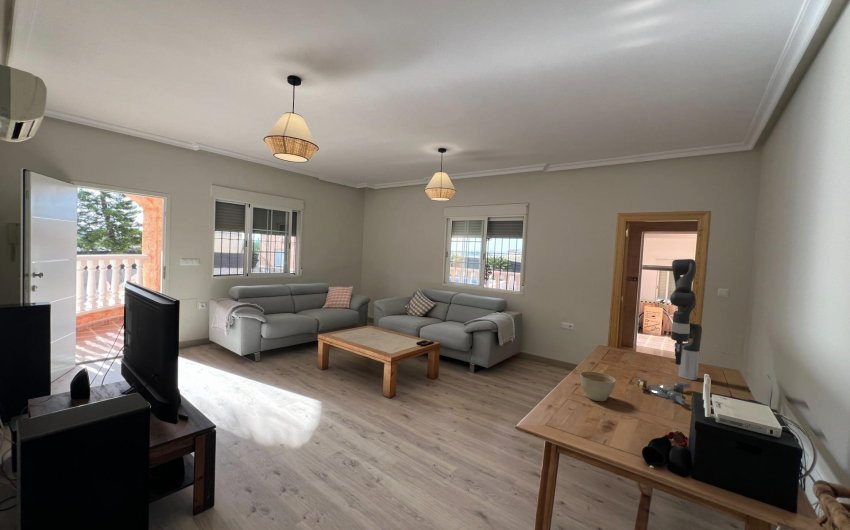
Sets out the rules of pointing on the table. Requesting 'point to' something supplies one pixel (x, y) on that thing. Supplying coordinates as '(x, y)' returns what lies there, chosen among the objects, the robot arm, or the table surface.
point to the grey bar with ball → (681, 386)
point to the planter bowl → (597, 385)
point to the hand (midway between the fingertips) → (678, 364)
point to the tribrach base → (662, 391)
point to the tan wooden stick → (642, 383)
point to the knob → (676, 397)
